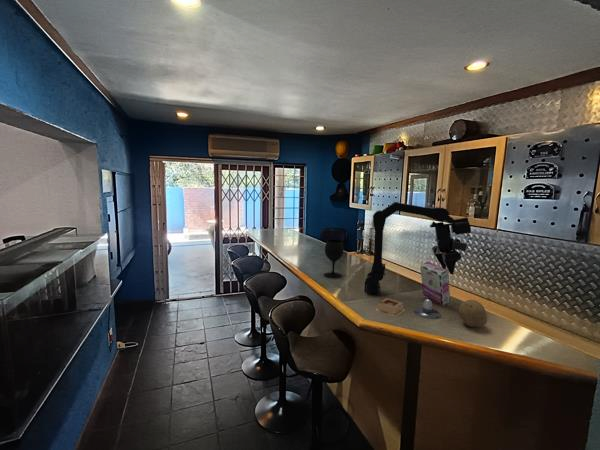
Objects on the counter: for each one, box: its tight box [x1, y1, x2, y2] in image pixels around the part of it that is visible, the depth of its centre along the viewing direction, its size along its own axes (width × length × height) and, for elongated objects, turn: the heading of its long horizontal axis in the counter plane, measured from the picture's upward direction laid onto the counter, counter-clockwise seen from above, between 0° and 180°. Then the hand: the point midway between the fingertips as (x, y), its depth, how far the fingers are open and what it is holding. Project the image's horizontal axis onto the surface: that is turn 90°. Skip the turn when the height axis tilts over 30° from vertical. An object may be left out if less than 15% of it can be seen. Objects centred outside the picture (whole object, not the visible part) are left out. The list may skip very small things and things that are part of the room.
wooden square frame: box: [377, 297, 404, 316], centre depth 119 cm, size 7×7×3 cm
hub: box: [413, 298, 442, 320], centre depth 116 cm, size 10×10×7 cm
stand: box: [374, 303, 406, 317], centre depth 119 cm, size 9×9×3 cm
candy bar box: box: [419, 261, 451, 307], centre depth 129 cm, size 11×5×16 cm, turn 24°
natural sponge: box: [458, 299, 488, 328], centre depth 109 cm, size 9×9×10 cm
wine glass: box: [323, 239, 344, 279], centre depth 165 cm, size 10×10×20 cm
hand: (448, 271), depth 127 cm, fingers open, 9 cm apart
